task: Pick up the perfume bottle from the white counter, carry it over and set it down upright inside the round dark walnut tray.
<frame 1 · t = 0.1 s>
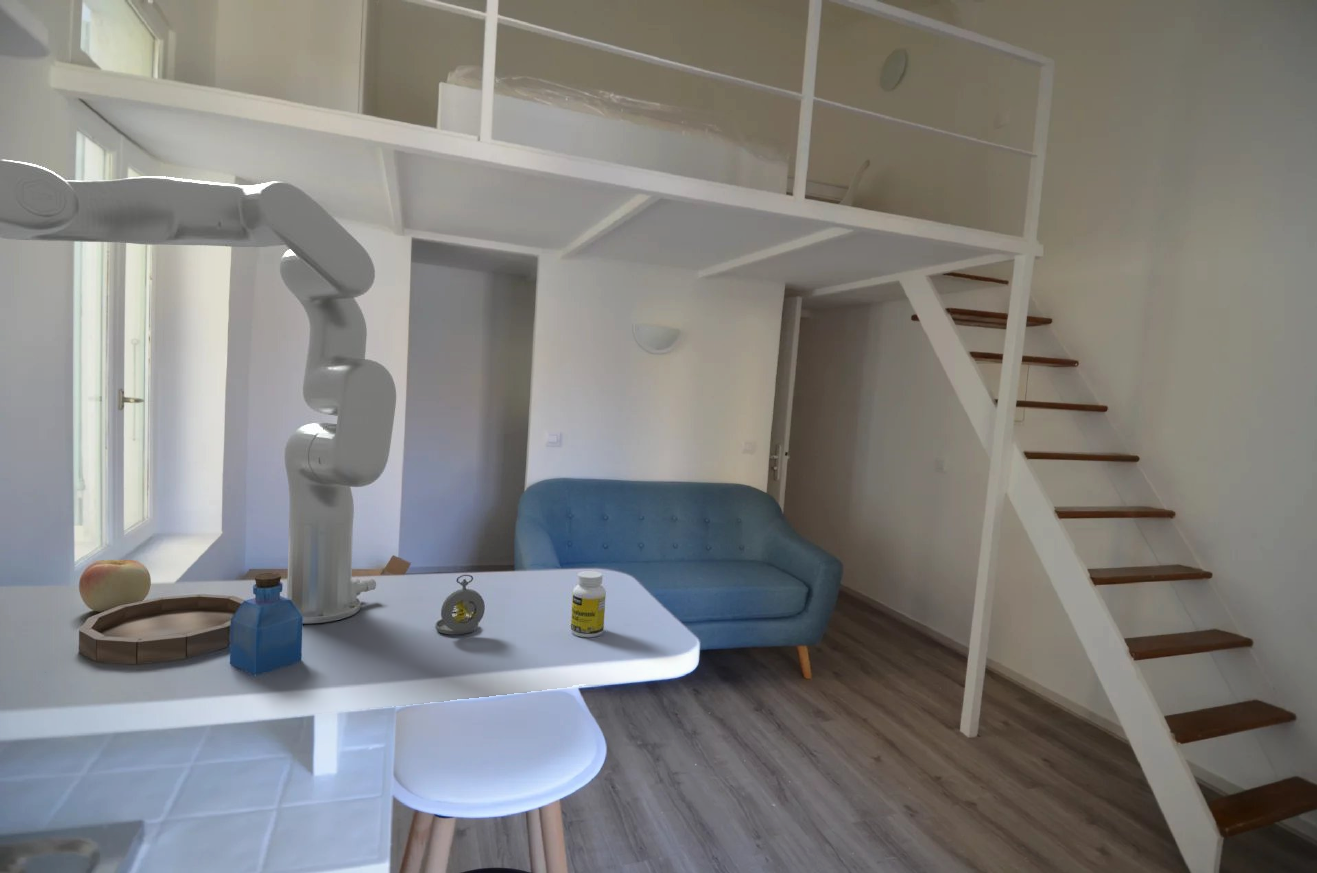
walnut tray: (172, 635, 97), on the table
apple: (116, 611, 106), on the table
supplement bottle: (586, 633, 109), on the table
perfume bottle: (266, 663, 90), on the table
pocket watch: (457, 633, 106), on the table
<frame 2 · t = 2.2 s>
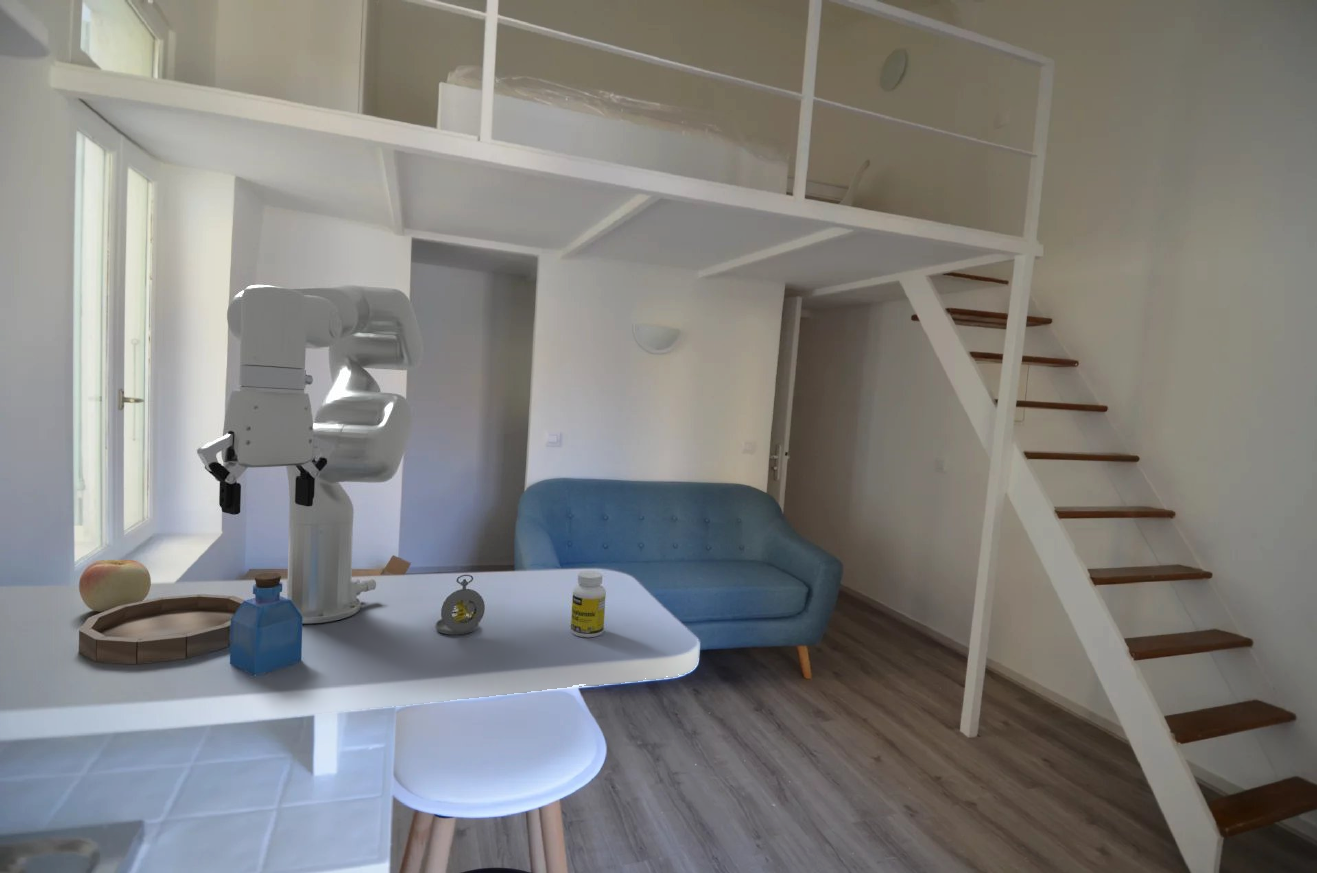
hand: (268, 508, 89), 21 cm above the table, tool pointing down, fingers open, 9 cm apart
nothing on the table moved.
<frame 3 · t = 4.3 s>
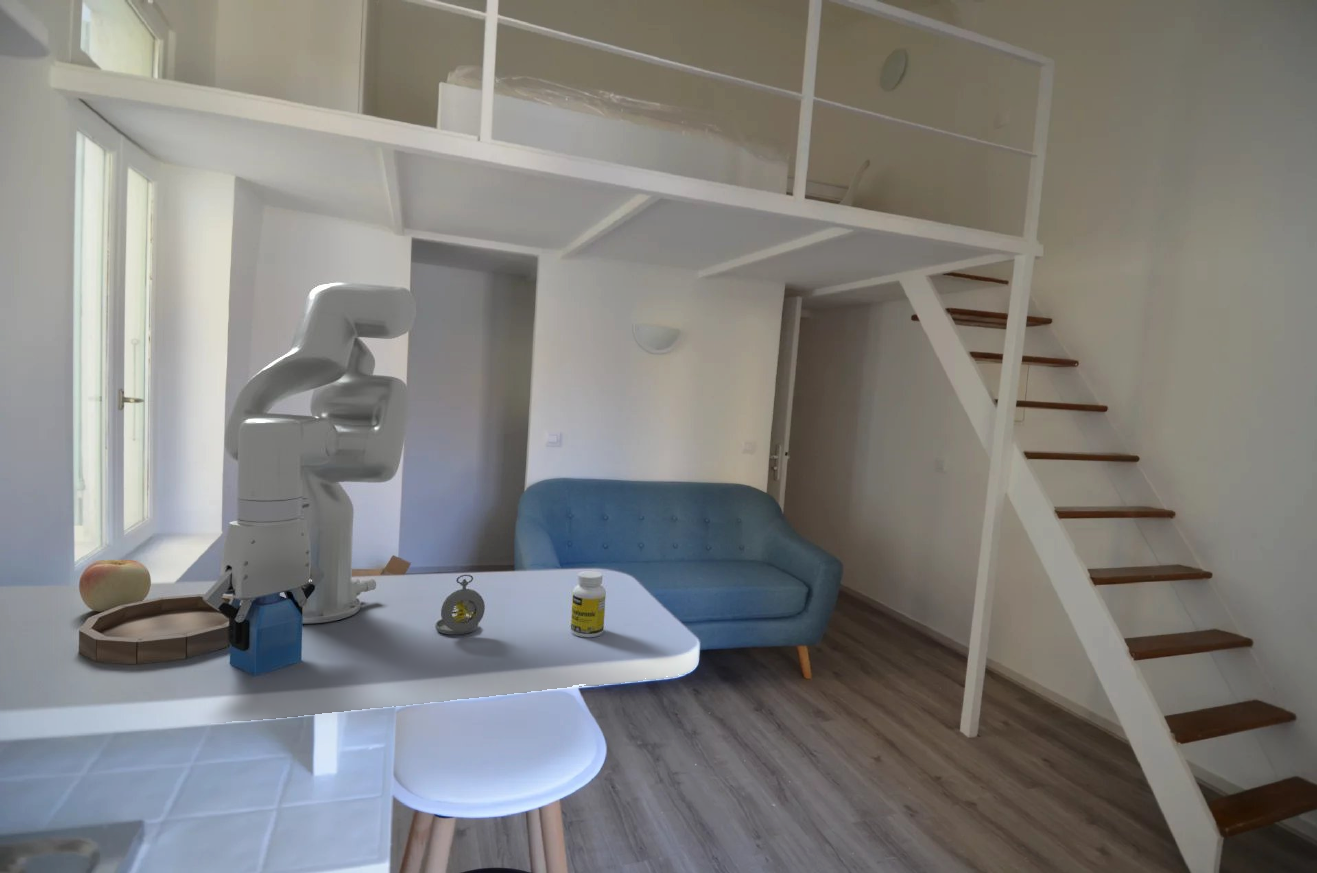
hand: (266, 639, 90), 3 cm above the table, tool pointing down, fingers closed on perfume bottle, 6 cm apart
perfume bottle: (266, 663, 90), on the table, touching gripper
everything else where it was.
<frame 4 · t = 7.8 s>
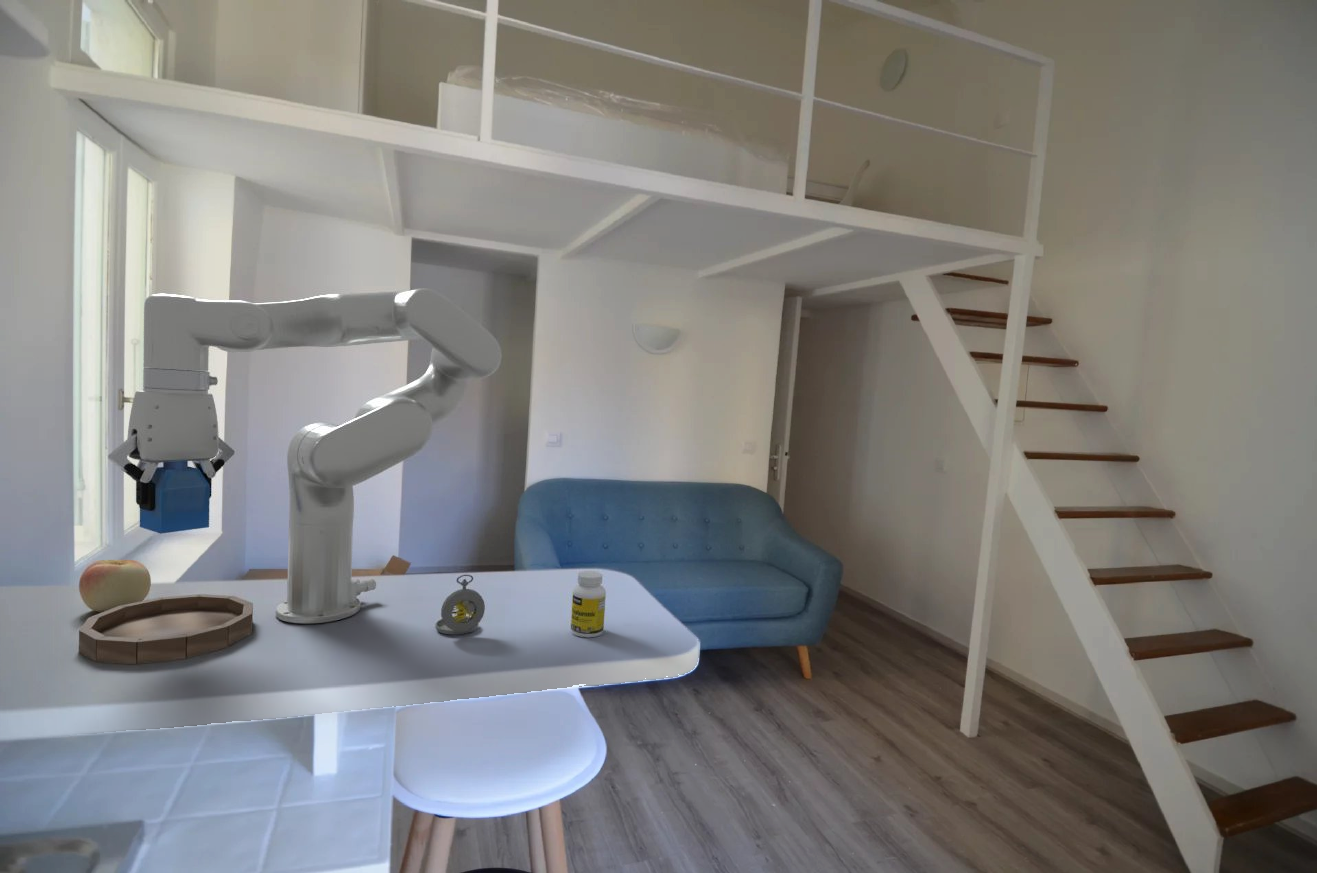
hand: (174, 505, 96), 19 cm above the table, tool pointing down, fingers closed on perfume bottle, 6 cm apart
perfume bottle: (174, 528, 96), point 16 cm above the table, touching gripper
everything else where it was.
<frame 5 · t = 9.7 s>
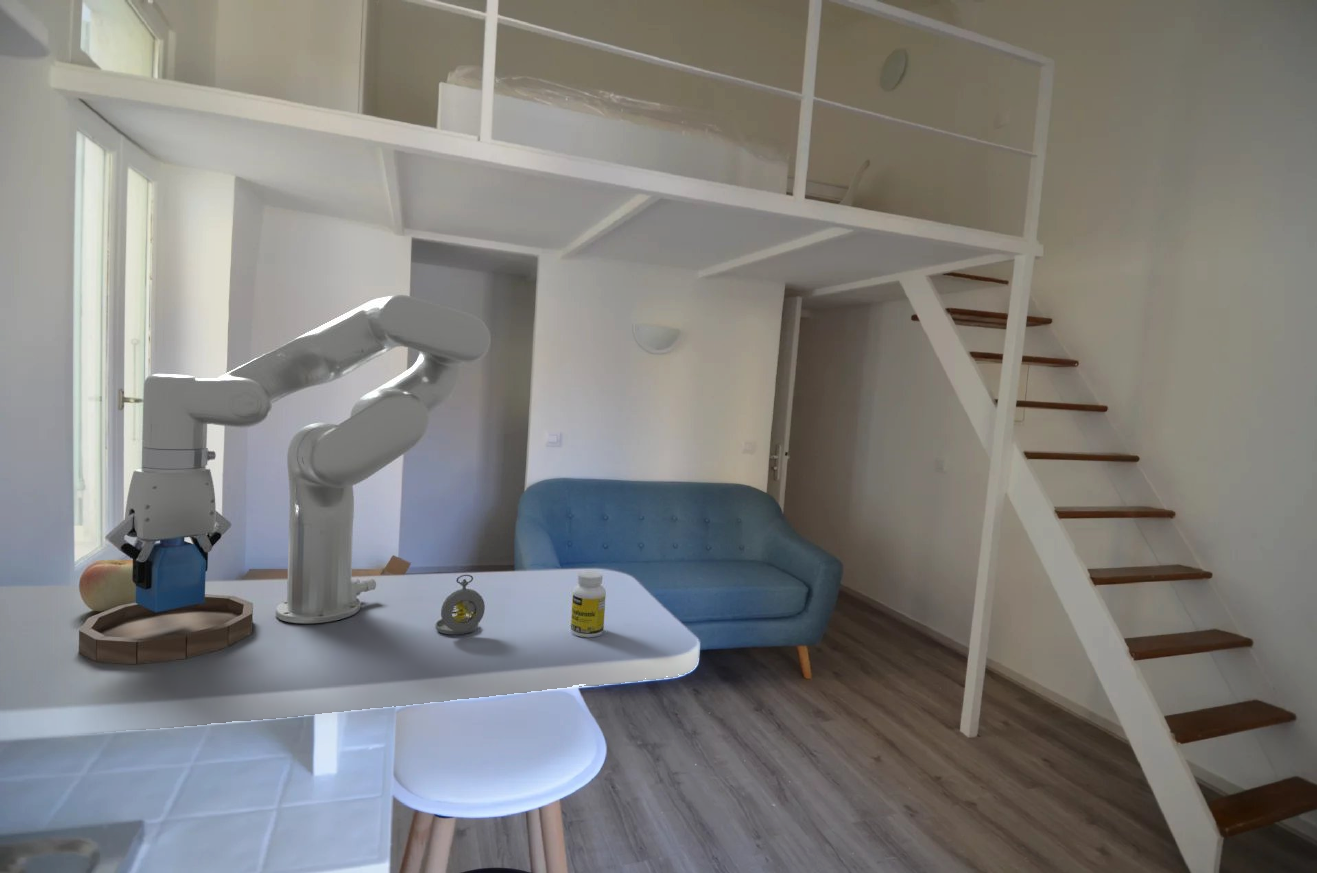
hand: (171, 581, 97), 8 cm above the table, tool pointing down, fingers closed on perfume bottle, 6 cm apart
perfume bottle: (170, 604, 97), point 5 cm above the table, touching gripper
everything else where it was.
when the fingers open (5 cm above the table, at t = 11.3 s): perfume bottle stays where it is, resting on walnut tray.
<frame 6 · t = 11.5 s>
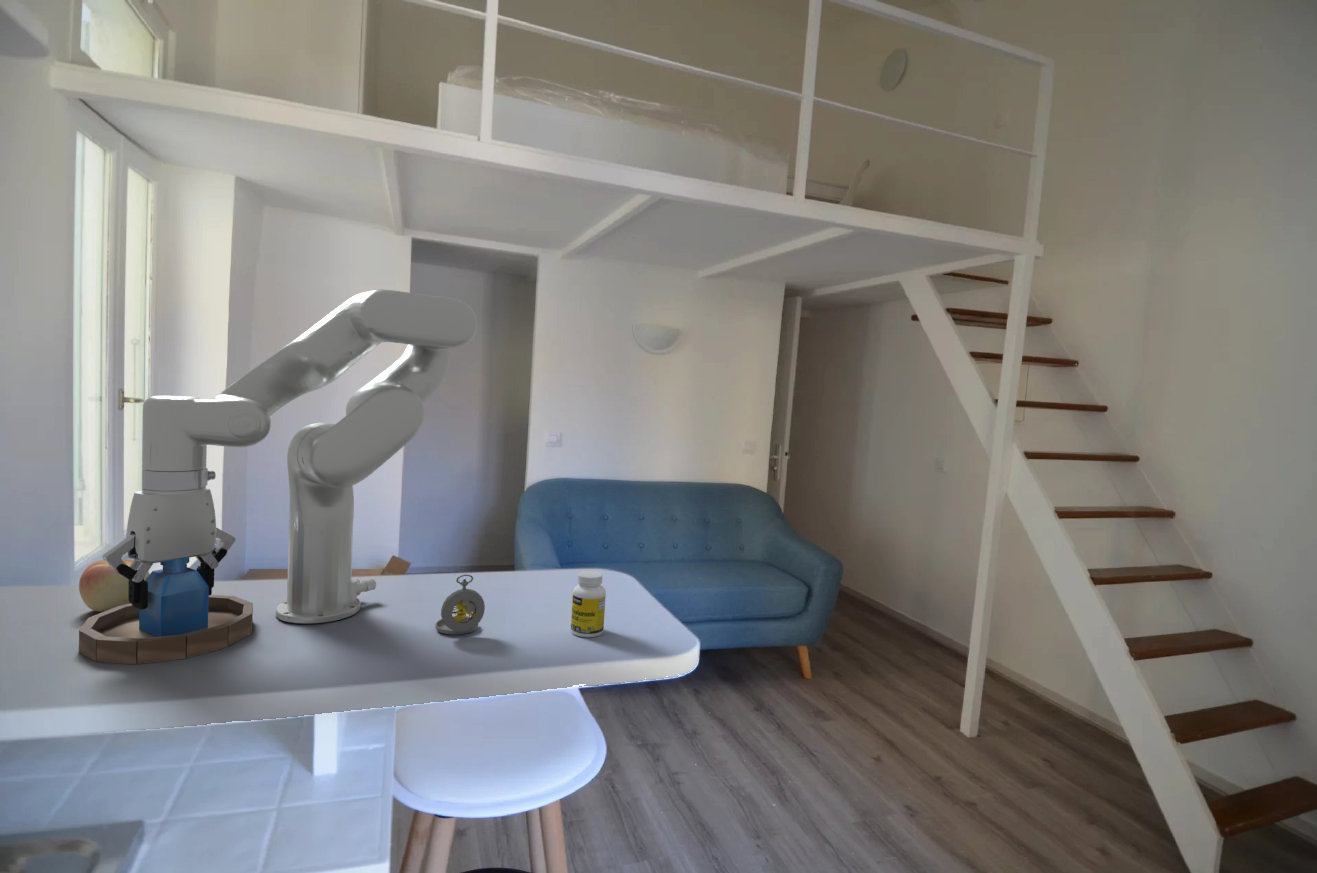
hand: (172, 599, 97), 5 cm above the table, tool pointing down, fingers open, 7 cm apart
perfume bottle: (173, 630, 97), point 1 cm above the table, touching walnut tray
everything else where it was.
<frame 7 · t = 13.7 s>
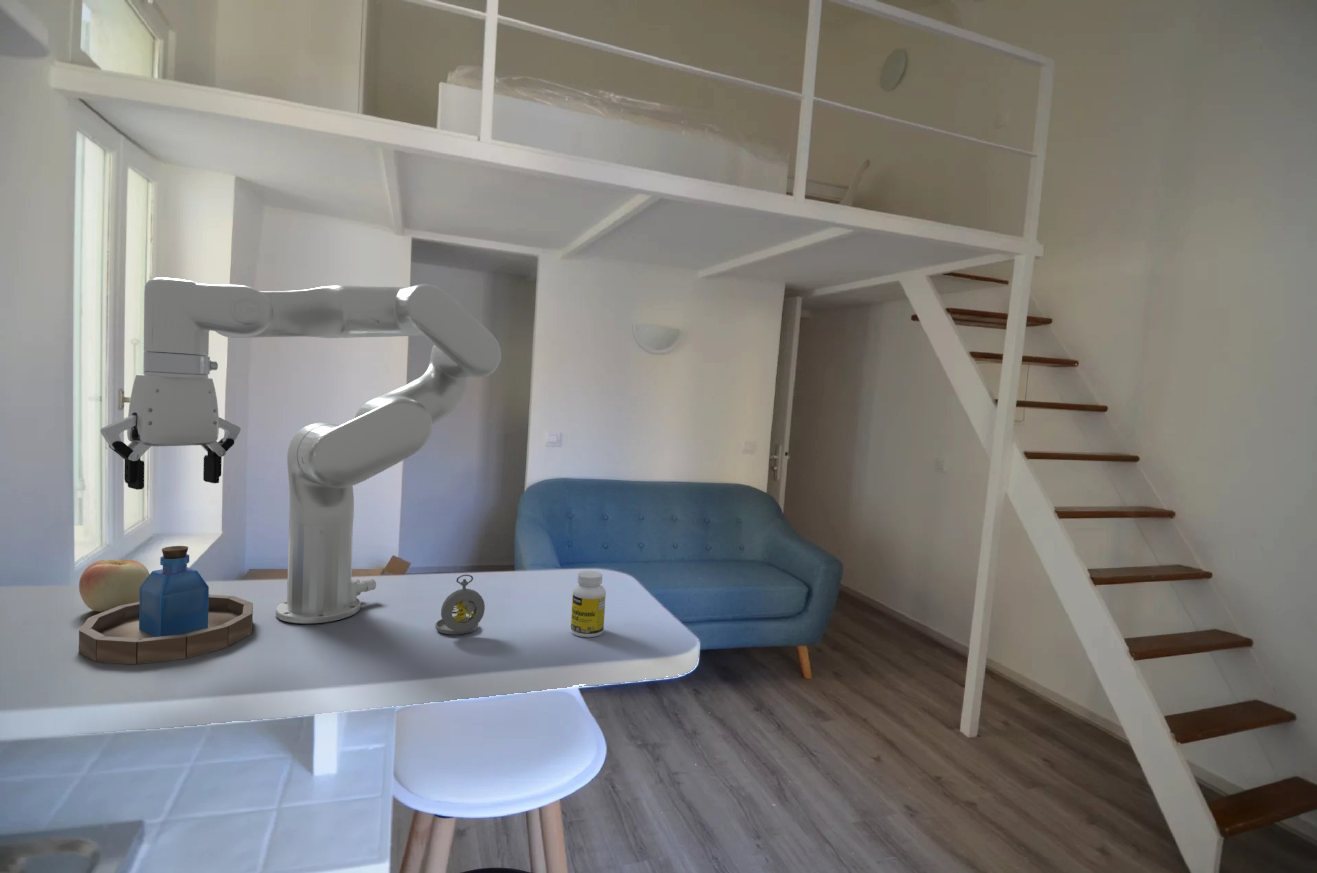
hand: (175, 485, 96), 22 cm above the table, tool pointing down, fingers open, 9 cm apart
nothing on the table moved.
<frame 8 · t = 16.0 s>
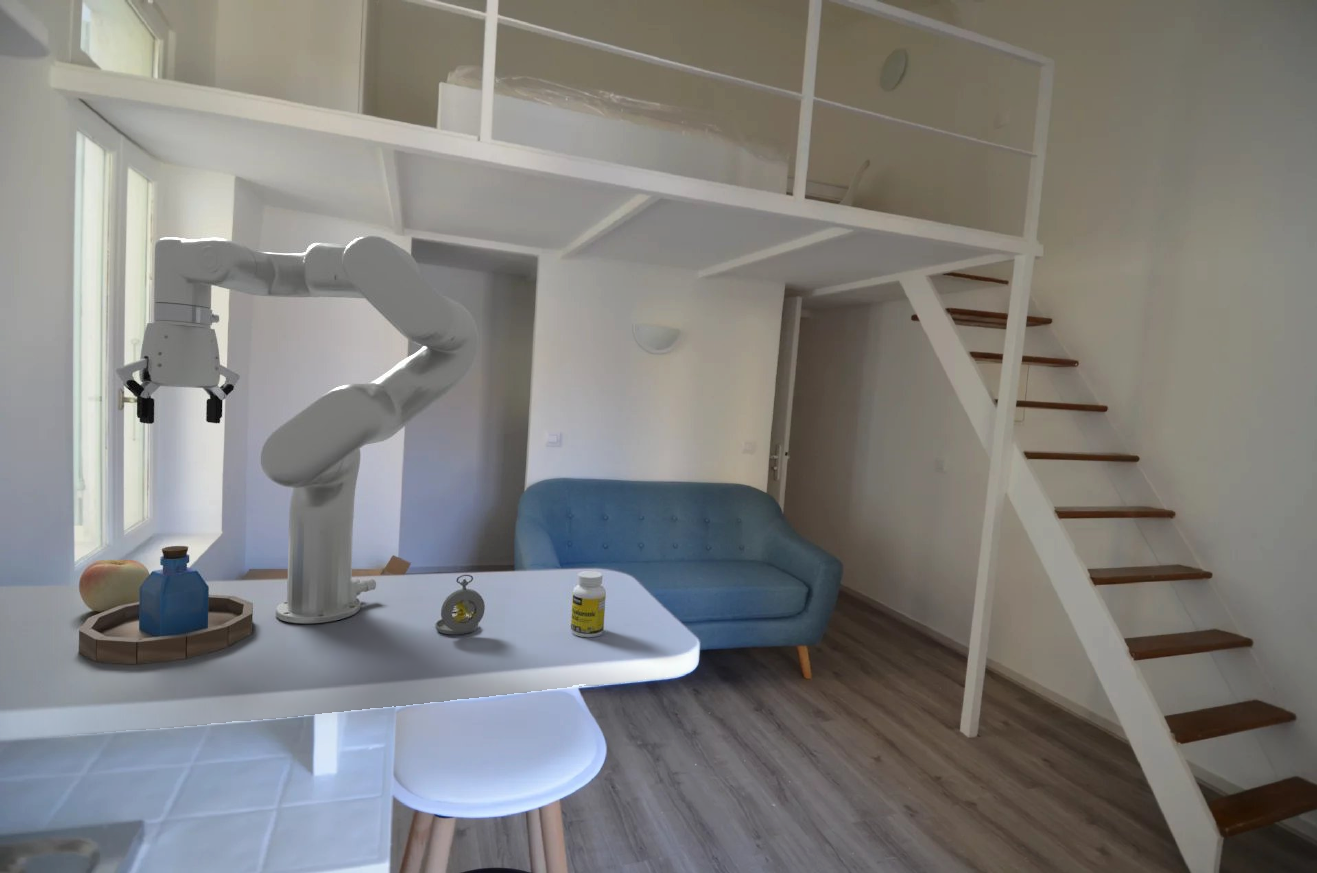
hand: (181, 422, 108), 30 cm above the table, tool pointing down, fingers open, 9 cm apart
nothing on the table moved.
at the end: perfume bottle inside the target area on the walnut tray (0.2 cm from its centre), point 0.8 cm above the walnut tray's base; perfume bottle tilted 0°; the gripper is holding nothing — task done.
